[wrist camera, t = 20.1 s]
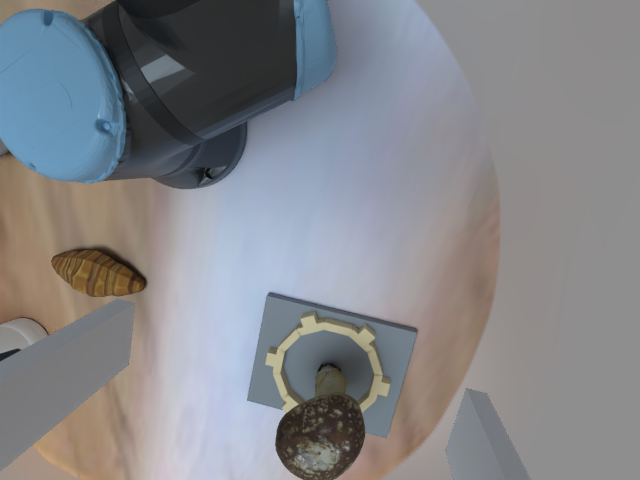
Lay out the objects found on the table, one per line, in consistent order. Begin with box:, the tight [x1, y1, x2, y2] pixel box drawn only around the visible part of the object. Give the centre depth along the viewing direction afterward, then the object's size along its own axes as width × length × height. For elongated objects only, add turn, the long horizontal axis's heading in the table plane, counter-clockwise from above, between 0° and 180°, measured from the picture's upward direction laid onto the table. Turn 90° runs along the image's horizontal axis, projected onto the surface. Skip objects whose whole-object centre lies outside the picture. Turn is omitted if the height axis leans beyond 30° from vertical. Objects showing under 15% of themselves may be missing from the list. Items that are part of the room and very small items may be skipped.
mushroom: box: [275, 363, 365, 480], centre depth 44 cm, size 9×9×15 cm
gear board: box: [247, 293, 417, 438], centre depth 51 cm, size 20×16×3 cm
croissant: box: [51, 250, 145, 297], centre depth 52 cm, size 14×7×5 cm, turn 75°
